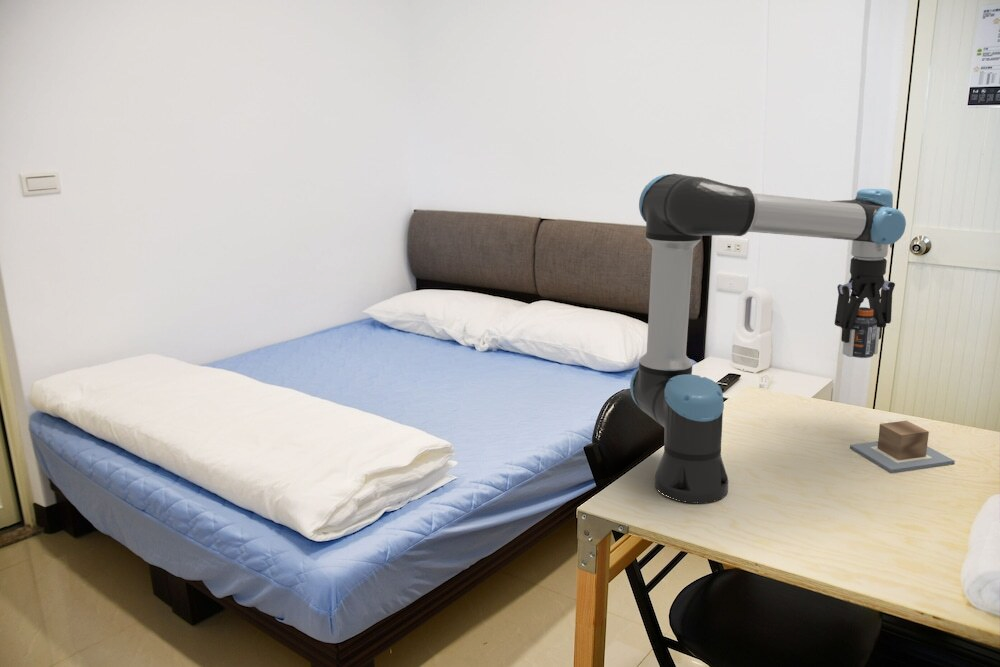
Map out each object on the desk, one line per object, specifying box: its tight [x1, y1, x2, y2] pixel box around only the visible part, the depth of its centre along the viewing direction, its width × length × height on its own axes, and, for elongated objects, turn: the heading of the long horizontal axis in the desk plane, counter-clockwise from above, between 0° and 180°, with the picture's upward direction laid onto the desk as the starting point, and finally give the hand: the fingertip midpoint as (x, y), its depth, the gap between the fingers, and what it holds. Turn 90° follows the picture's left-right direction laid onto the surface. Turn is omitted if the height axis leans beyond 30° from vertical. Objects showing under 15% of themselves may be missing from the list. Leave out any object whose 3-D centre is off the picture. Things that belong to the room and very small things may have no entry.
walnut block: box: [877, 420, 930, 460], centre depth 176 cm, size 7×7×6 cm
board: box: [849, 440, 955, 474], centre depth 177 cm, size 16×14×1 cm
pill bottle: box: [852, 306, 877, 359], centre depth 183 cm, size 6×6×11 cm
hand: (859, 353), depth 185 cm, fingers closed on pill bottle, 6 cm apart
